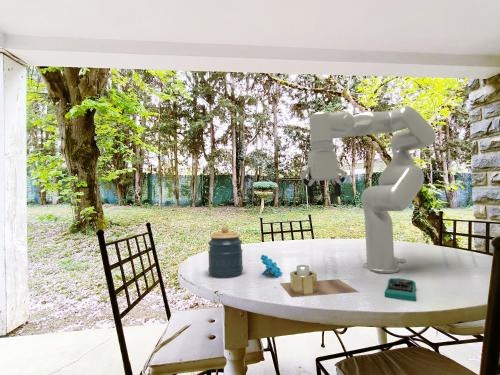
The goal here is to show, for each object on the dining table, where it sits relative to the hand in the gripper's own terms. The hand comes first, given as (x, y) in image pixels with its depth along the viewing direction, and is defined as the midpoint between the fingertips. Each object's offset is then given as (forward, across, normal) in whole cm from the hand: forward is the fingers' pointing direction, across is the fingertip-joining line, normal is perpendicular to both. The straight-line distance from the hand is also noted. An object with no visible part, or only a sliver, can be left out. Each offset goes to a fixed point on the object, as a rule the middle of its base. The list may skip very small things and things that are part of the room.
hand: (324, 197), depth 98 cm
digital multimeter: (+29, -13, +20) cm, 37 cm away
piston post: (+28, +14, +13) cm, 33 cm away
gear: (+28, +18, -7) cm, 34 cm away
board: (+28, +9, +11) cm, 31 cm away
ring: (+27, +13, +13) cm, 33 cm away
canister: (+28, +34, -14) cm, 46 cm away
